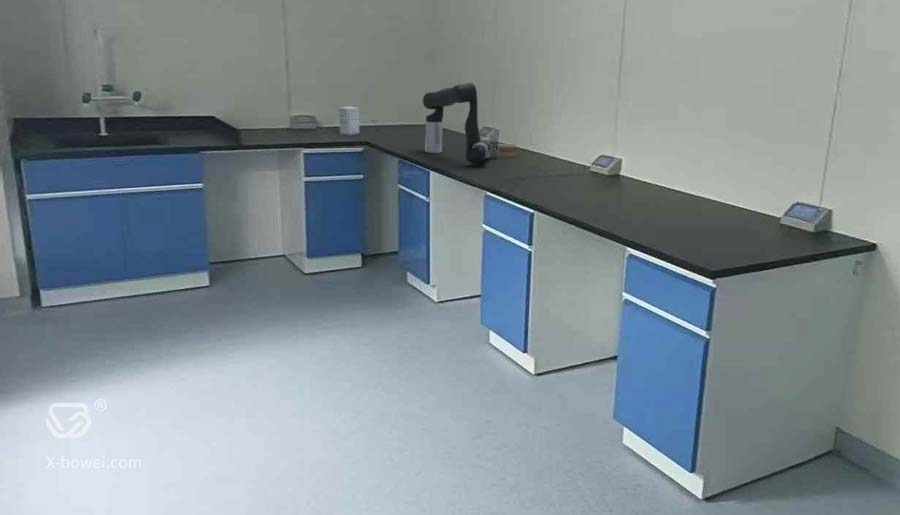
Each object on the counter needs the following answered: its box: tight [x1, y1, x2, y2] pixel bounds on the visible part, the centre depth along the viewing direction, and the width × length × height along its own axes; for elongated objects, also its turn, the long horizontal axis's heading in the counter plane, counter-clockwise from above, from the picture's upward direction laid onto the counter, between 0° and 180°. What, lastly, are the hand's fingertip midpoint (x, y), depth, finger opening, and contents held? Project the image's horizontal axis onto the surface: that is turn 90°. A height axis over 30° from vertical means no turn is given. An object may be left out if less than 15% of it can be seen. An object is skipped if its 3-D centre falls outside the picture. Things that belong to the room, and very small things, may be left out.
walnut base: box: [496, 143, 518, 158], centre depth 414 cm, size 10×10×6 cm
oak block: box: [480, 137, 492, 159], centre depth 408 cm, size 4×4×10 cm
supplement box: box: [338, 106, 360, 136], centre depth 482 cm, size 10×9×17 cm
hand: (486, 145), depth 409 cm, fingers open, 8 cm apart
